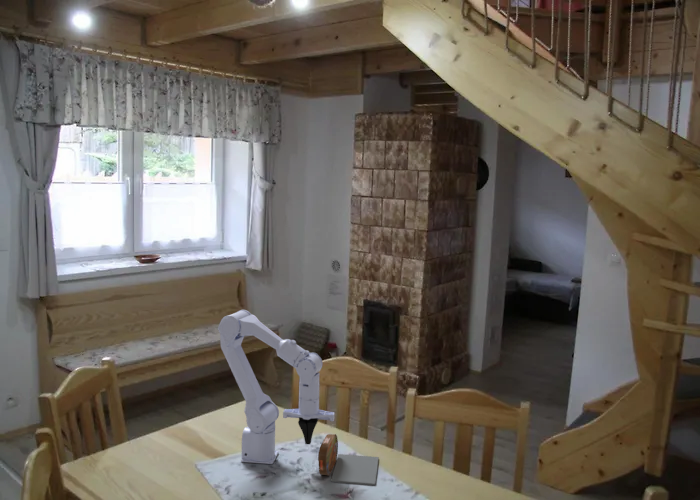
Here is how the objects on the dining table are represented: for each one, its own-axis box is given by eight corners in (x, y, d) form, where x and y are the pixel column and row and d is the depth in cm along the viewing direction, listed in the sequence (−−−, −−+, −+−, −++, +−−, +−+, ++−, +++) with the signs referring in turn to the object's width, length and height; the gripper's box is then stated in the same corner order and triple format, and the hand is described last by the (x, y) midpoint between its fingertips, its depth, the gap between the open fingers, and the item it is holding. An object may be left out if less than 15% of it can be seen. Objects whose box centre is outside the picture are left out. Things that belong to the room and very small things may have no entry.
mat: (331, 481, 163) (331, 480, 163) (338, 455, 179) (338, 454, 179) (375, 485, 162) (375, 483, 162) (378, 458, 178) (378, 457, 178)
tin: (327, 481, 164) (327, 451, 163) (316, 479, 164) (316, 450, 163) (338, 456, 178) (339, 429, 178) (328, 455, 179) (329, 428, 178)
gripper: (280, 400, 166) (280, 447, 168) (332, 403, 165) (331, 450, 167) (286, 391, 173) (285, 436, 175) (335, 394, 172) (334, 440, 174)
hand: (308, 442), depth 171 cm, fingers closed
